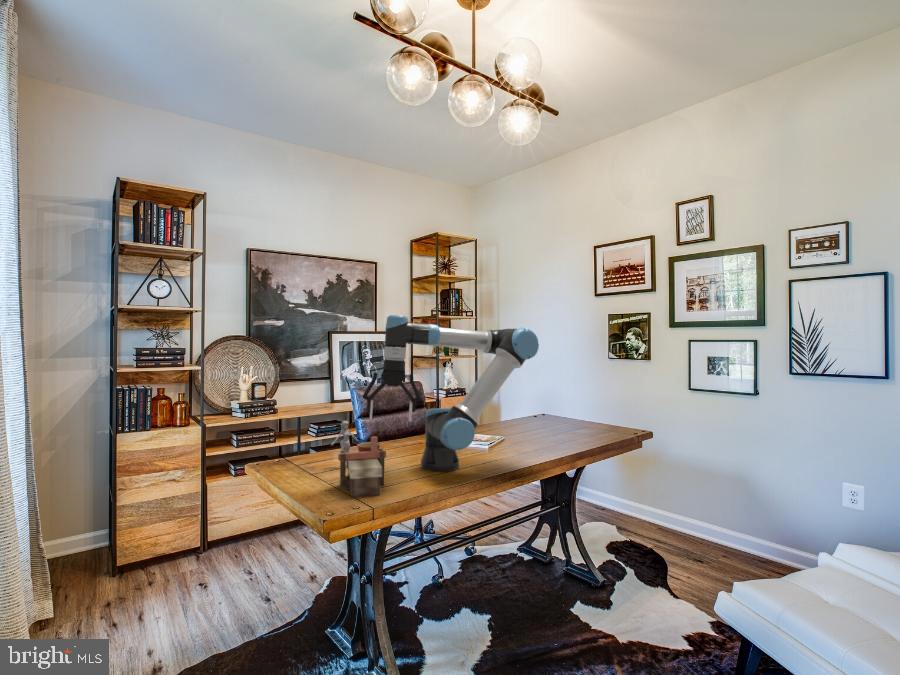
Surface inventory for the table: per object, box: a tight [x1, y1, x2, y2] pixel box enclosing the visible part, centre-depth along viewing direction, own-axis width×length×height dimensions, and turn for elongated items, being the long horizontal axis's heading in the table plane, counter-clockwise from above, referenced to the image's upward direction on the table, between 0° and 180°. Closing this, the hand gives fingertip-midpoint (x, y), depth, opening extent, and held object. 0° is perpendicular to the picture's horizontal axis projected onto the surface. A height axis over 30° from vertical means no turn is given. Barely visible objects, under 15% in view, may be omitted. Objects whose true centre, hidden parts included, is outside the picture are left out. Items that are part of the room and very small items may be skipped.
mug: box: [356, 441, 381, 459], centre depth 175 cm, size 12×9×10 cm
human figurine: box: [330, 420, 359, 468], centre depth 182 cm, size 12×4×18 cm, turn 133°
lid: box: [346, 458, 382, 479], centre depth 156 cm, size 10×15×3 cm, turn 17°
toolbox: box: [339, 448, 386, 498], centre depth 156 cm, size 14×14×12 cm
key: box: [337, 436, 387, 461], centre depth 160 cm, size 16×2×7 cm, turn 107°
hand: (390, 420), depth 163 cm, fingers open, 13 cm apart
